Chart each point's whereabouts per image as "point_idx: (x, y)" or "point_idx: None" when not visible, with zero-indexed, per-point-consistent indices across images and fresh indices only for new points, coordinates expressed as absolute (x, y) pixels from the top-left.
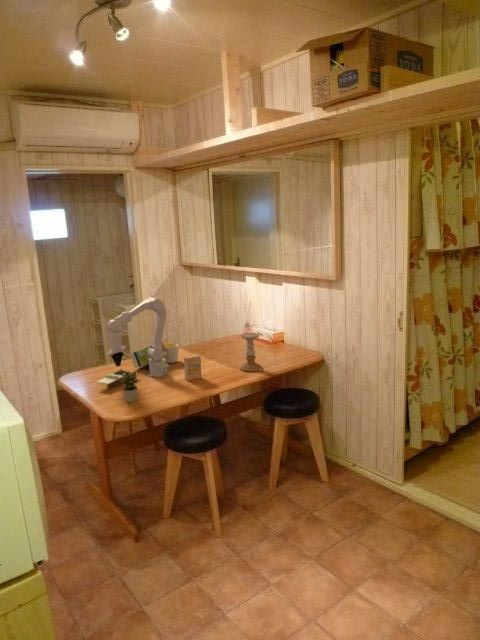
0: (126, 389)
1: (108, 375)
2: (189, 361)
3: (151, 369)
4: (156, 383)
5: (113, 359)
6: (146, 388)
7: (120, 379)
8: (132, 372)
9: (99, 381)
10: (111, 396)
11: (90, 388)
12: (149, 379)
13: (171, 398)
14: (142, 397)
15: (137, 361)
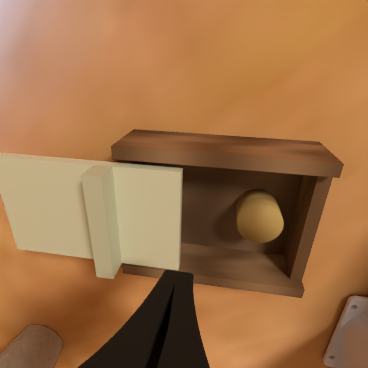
0: None
1: (87, 202)
2: None
3: (362, 366)
4: (236, 363)
5: (111, 341)
6: None
7: (126, 269)
8: (268, 290)
9: (5, 173)
10: (20, 260)
11: (20, 70)
12: (284, 324)
13: None
14: (82, 360)
15: None
